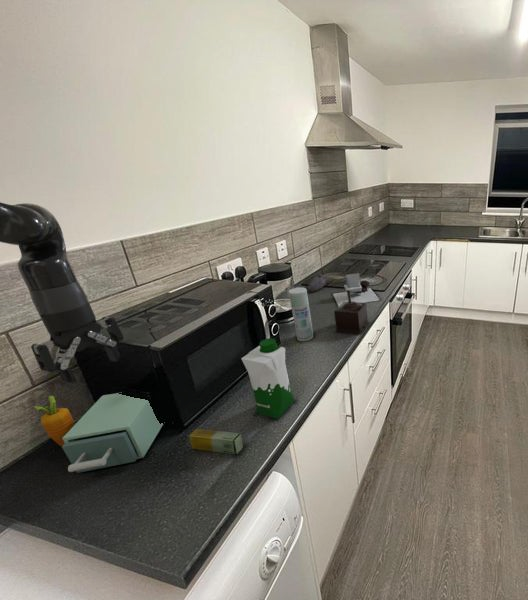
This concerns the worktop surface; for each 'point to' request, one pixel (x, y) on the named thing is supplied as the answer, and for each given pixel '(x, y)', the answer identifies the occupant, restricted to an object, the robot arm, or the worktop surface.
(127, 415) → the green drawer housing
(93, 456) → the green drawer
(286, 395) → the milk carton
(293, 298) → the spray can
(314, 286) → the perforated stone tool
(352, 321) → the manual coffee grinder
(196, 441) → the medication box
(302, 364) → the worktop surface
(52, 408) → the carrot
